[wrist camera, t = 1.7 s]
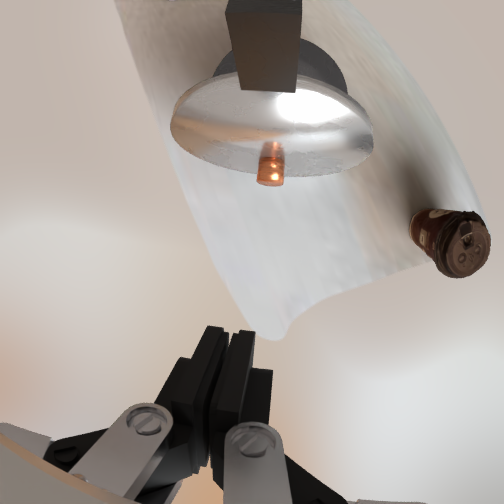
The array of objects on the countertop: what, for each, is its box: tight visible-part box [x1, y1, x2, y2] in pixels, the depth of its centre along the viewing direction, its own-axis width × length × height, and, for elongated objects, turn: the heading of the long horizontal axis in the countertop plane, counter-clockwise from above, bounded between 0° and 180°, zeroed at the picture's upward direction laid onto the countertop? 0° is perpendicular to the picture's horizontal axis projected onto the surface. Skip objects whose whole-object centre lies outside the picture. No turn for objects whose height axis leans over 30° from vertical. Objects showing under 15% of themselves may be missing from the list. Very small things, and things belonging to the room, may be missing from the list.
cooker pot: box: [213, 38, 348, 94], centre depth 33 cm, size 23×15×10 cm, turn 176°
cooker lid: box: [170, 0, 373, 186], centre depth 20 cm, size 22×16×3 cm
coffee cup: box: [409, 209, 491, 278], centre depth 34 cm, size 9×8×13 cm
